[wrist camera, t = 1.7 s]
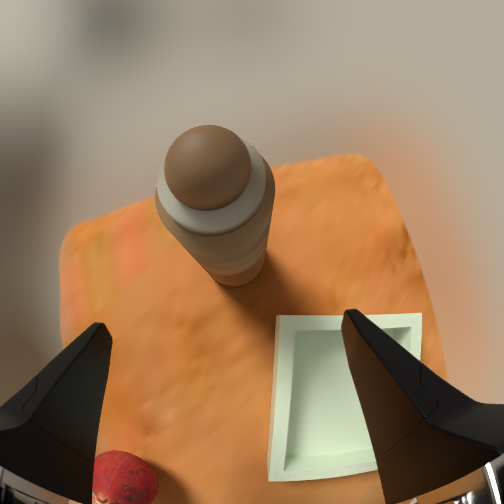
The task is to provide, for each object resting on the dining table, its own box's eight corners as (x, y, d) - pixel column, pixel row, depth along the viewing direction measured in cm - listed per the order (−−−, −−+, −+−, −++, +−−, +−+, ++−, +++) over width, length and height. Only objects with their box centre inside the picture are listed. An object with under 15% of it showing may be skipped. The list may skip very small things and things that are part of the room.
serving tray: (385, 448, 18) (402, 463, 14) (266, 460, 18) (268, 481, 14) (400, 314, 21) (421, 312, 17) (276, 315, 21) (280, 314, 17)
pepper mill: (263, 288, 21) (282, 219, 7) (202, 285, 22) (110, 216, 7) (265, 230, 23) (280, 91, 8) (207, 227, 23) (147, 95, 8)
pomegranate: (161, 442, 18) (125, 485, 10) (173, 489, 17) (147, 538, 9) (106, 434, 18) (58, 465, 10) (119, 480, 17) (82, 518, 9)
